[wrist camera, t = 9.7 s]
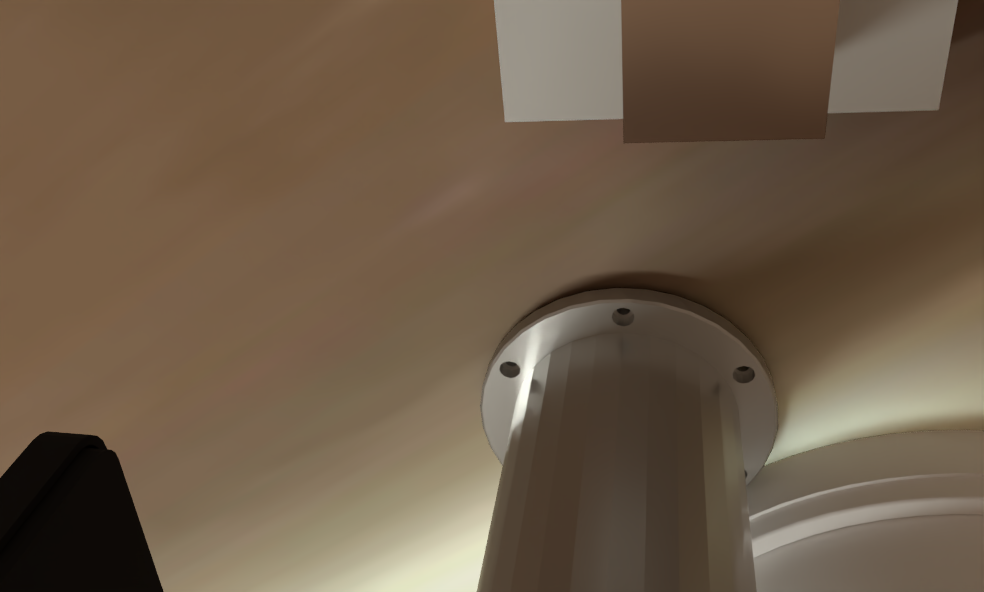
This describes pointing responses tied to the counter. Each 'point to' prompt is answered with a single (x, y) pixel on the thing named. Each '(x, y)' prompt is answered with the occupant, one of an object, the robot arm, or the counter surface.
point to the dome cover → (873, 516)
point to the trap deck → (598, 57)
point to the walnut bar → (726, 69)
